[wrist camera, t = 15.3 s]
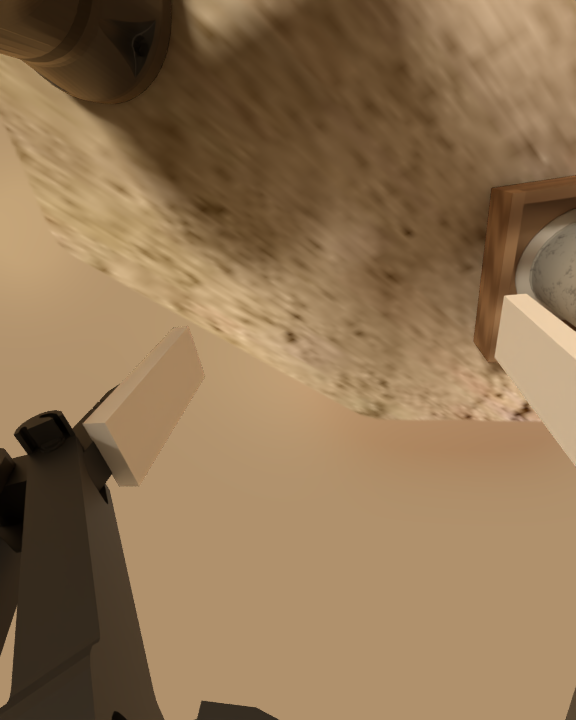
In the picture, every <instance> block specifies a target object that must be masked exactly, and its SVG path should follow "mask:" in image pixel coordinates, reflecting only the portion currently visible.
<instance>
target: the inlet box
mask: <svg viewBox="0 0 576 720" xmlns="http://www.w3.org/2000/svg"><path fill="white" fill-rule="evenodd" d="M574 222H576V175H575V176H568V177H561V178H555V179H548V180H542V181H535V182H529V183H522V184H515V185H509V186H502V187H496V188H492V189H491V198H490V206H489V215H488V223H487V231H486V240H485V248H484V257H483V265H482V274H481V282H480V291H479V299H478V308H477V316H476V325H475V333H474V343H475V344H476V345H477V347H478V348H479V350H480V351H481V353H482V354H483V355H484V357H485V358H486V360H487V361H488V362H498V361H497V360H496V359H495V351H496V344H497V338H498V332H499V325H500V319H501V312H502V306H503V299H504V296H506V295H517V294H527V295H529V296H530V297H531V298H533V299H534V300H535V301H536V302H538V303H539V304H540V305H542V306H543V307H544V308H545V309H547V310H548V311H549V312H551V313H552V314H553V315H555V316H556V317H557V318H558V319H560V320H561V321H562V322H564V323H565V324H566V325H567V326H569V327H570V328H571V329H573V330H574V331H575V332H576V327H575V326H574V325H572V324H571V323H570V322H568V321H567V320H566V319H564V318H563V317H562V316H560V315H559V314H558V313H556V312H555V311H554V310H552V309H551V308H550V307H548V306H547V305H545V304H543V303H541V302H540V301H539V300H538V299H537V298H536V297H535V295H534V293H533V292H532V290H531V286H530V281H529V279H530V269H531V266H532V263H533V260H534V258H535V257H536V255H537V253H538V251H539V250H540V249H541V247H542V246H543V245H544V244H545V243H546V241H547V240H548V239H550V238H551V237H552V236H553V235H554V234H555V233H556V232H558V231H559V230H561V229H563V228H564V227H566V226H567V225H569V224H571V223H574Z"/></svg>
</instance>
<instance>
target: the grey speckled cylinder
mask: <svg viewBox="0 0 576 720" xmlns="http://www.w3.org/2000/svg"><path fill="white" fill-rule="evenodd" d="M529 281H530V286H531V290H532V292H533V293H534V295H535V297H536V298H537V299H538V300H539V301H540V302H541V303H543V304H545V305H547V306H548V307H550V308H551V309H552V310H554V311H555V312H556V313H558V314H559V315H560V316H562V317H563V318H564V319H566V320H567V321H568V322H570V323H571V324H572V325H574V326H575V327H576V222H574V223H571V224H569V225H567V226H566V227H564V228H563V229H561V230H559V231H558V232H556V233H555V234H554V235H553V236H552V237H551V238H550V239H548V240H547V241H546V243H545V244H544V245H543V246H542V247H541V249H540V250H539V251H538V253H537V255H536V257H535V258H534V260H533V263H532V266H531V269H530V279H529Z"/></svg>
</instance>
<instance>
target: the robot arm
mask: <svg viewBox="0 0 576 720" xmlns="http://www.w3.org/2000/svg"><path fill="white" fill-rule="evenodd" d="M170 31H171V0H0V54H4V55H7V56H11V57H15V58H18V59H21V60H22V61H23V62H25V63H26V64H27V65H29V66H30V67H32V68H33V69H34V70H35V71H36V72H37V73H38V74H40V75H41V76H42V77H43V78H44V79H46V80H47V81H48V82H50V83H51V84H52V85H54V86H55V87H57V88H58V89H60V90H62V91H63V92H65V93H67V94H69V95H72V96H74V97H77V98H79V99H83V100H87V101H92V102H97V103H103V104H117V103H122V102H125V101H128V100H131V99H133V98H135V97H136V96H138V95H139V94H141V93H142V92H143V91H144V90H145V89H146V88H147V87H148V86H149V85H150V84H151V83H152V82H153V80H154V79H155V77H156V76H157V74H158V72H159V70H160V68H161V66H162V64H163V61H164V59H165V55H166V52H167V48H168V44H169V38H170ZM495 359H496V360H497V361H498V363H499V364H500V365H501V367H502V368H503V370H504V371H505V372H506V374H507V375H508V376H509V378H510V379H511V380H512V382H513V383H514V384H515V386H516V387H517V388H518V390H519V391H520V392H521V394H522V395H523V396H524V398H525V399H526V401H527V402H528V403H529V405H530V406H531V407H532V409H533V410H534V411H535V413H536V414H537V415H538V417H539V418H540V419H541V421H542V422H543V423H544V425H545V426H546V427H547V429H548V430H549V431H550V433H551V434H552V436H553V437H554V438H555V440H556V441H557V442H558V444H559V445H560V446H561V448H562V449H563V450H564V452H565V453H566V454H567V456H568V457H569V458H570V460H571V461H572V462H573V464H574V465H575V466H576V332H575V331H574V330H573V329H571V328H570V327H569V326H567V325H566V324H565V323H564V322H562V321H561V320H560V319H558V318H557V317H556V316H555V315H553V314H552V313H551V312H549V311H548V310H547V309H545V308H544V307H543V306H542V305H540V304H539V303H538V302H536V301H535V300H534V299H533V298H531V297H530V296H529V295H527V294H517V295H506V296H504V299H503V306H502V312H501V319H500V325H499V332H498V338H497V344H496V351H495ZM204 378H205V374H204V371H203V368H202V365H201V362H200V359H199V356H198V353H197V350H196V347H195V344H194V341H193V338H192V335H191V332H190V329H189V327H188V326H186V327H175V328H173V329H172V330H171V331H170V332H169V333H168V334H167V335H166V336H165V337H164V338H163V339H162V340H161V341H160V343H158V344H157V345H156V347H155V348H154V349H153V350H152V351H151V352H150V353H149V354H148V355H147V356H146V357H145V358H144V359H143V360H142V361H141V363H139V365H138V366H137V367H136V368H135V369H134V370H133V371H132V372H131V373H130V374H129V375H128V376H127V377H126V378H125V379H124V380H123V382H122V383H121V384H119V385H117V386H116V387H114V388H113V389H111V390H110V391H108V392H107V393H106V394H105V395H104V396H103V397H102V399H101V400H100V402H98V403H97V404H96V405H95V406H94V407H93V409H91V410H90V411H89V412H88V413H87V414H86V415H85V416H84V417H83V418H82V419H81V420H80V421H79V422H78V423H77V424H76V425H75V426H74V428H73V429H72V428H71V426H70V425H69V423H68V421H67V420H66V418H65V417H64V415H63V413H62V412H61V411H57V410H54V411H48V412H44V413H41V414H39V415H37V416H35V417H32V418H30V419H29V420H27V421H26V422H24V423H23V424H22V425H21V426H20V427H18V429H16V431H15V434H14V436H15V437H16V439H17V440H18V441H19V443H20V444H21V446H22V447H23V448H24V450H25V451H26V452H27V454H28V455H24V456H21V457H16V458H13V459H12V458H11V457H10V455H9V454H8V453H7V452H6V450H5V449H3V448H0V655H1V652H2V649H3V646H4V643H5V640H6V637H7V634H8V631H9V627H10V625H11V622H12V619H13V616H14V612H15V609H16V607H17V619H16V631H15V645H14V658H13V672H12V686H11V693H10V698H9V701H8V702H7V704H6V705H4V706H3V707H1V708H0V720H164V718H163V715H162V713H161V711H160V709H159V707H158V704H157V701H156V698H155V695H154V691H153V687H152V682H151V677H150V673H149V668H148V664H147V659H146V654H145V650H144V645H143V641H142V636H141V631H140V627H139V622H138V618H137V613H136V608H135V604H134V600H133V595H132V590H131V586H130V581H129V577H128V572H127V567H126V563H125V558H124V554H123V549H122V544H121V540H120V535H119V531H118V527H117V522H116V517H115V513H114V508H113V503H112V499H111V494H110V490H109V489H108V487H107V485H106V484H105V483H106V481H107V480H108V479H109V477H110V476H111V474H112V475H113V477H114V479H115V480H116V482H117V483H118V485H119V486H140V484H141V483H142V481H143V479H144V478H145V476H146V474H147V473H148V471H149V469H150V468H151V466H152V464H153V463H154V461H155V459H156V458H157V456H158V454H159V453H160V451H161V449H162V448H163V446H164V444H165V443H166V441H167V439H168V438H169V436H170V434H171V433H172V431H173V429H174V428H175V426H176V424H177V423H178V421H179V419H180V417H181V416H182V414H183V413H184V411H185V409H186V408H187V406H188V404H189V403H190V401H191V399H192V398H193V396H194V394H195V392H196V391H197V389H198V388H199V386H200V384H201V383H202V381H203V379H204ZM195 720H278V719H277V718H275V717H273V716H271V715H269V714H267V713H265V712H263V711H262V710H260V709H258V708H256V707H247V706H240V705H232V704H224V703H216V702H208V701H202V702H201V705H200V709H199V713H198V718H197V719H195ZM566 720H576V688H575V692H574V695H573V697H572V701H571V704H570V707H569V710H568V713H567V716H566Z"/></svg>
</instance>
